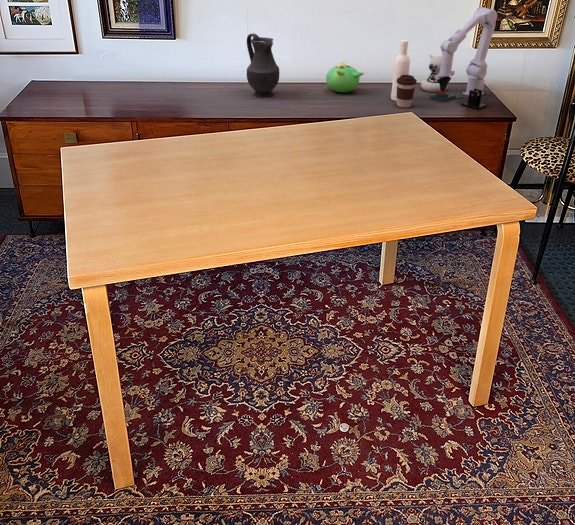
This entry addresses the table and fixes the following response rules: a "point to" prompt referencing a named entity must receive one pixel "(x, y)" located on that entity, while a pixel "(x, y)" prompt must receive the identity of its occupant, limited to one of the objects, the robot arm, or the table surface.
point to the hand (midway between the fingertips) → (442, 90)
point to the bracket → (474, 100)
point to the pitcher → (261, 66)
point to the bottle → (400, 67)
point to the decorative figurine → (433, 75)
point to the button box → (442, 96)
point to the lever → (465, 96)
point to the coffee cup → (405, 90)
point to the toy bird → (343, 78)
